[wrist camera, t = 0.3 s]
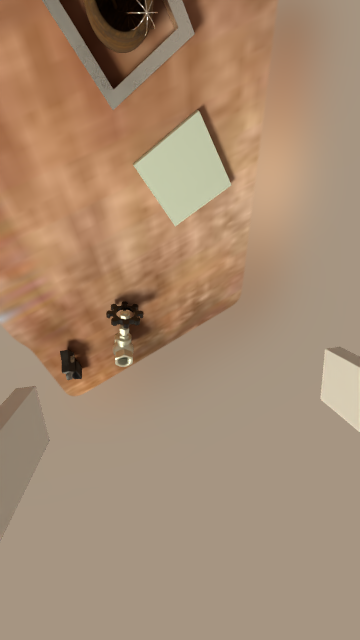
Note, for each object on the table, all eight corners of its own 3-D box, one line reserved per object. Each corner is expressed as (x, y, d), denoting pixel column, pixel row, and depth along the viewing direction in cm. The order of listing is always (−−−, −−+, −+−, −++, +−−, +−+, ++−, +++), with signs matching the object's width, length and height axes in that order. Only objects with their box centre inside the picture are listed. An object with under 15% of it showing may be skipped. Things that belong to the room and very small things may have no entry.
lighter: (83, 354, 59) (86, 378, 58) (73, 356, 59) (76, 380, 57) (71, 349, 51) (73, 377, 49) (59, 351, 50) (62, 380, 49)
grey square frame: (26, -26, 22) (21, -33, 21) (121, -143, 19) (122, -159, 18) (112, 108, 29) (112, 110, 28) (190, 36, 27) (194, 33, 25)
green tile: (133, 163, 33) (133, 165, 33) (196, 110, 31) (198, 110, 30) (174, 223, 40) (175, 226, 39) (229, 183, 38) (231, 184, 37)
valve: (137, 343, 57) (141, 301, 49) (140, 367, 52) (145, 324, 44) (106, 344, 55) (106, 300, 47) (106, 368, 50) (106, 324, 43)
